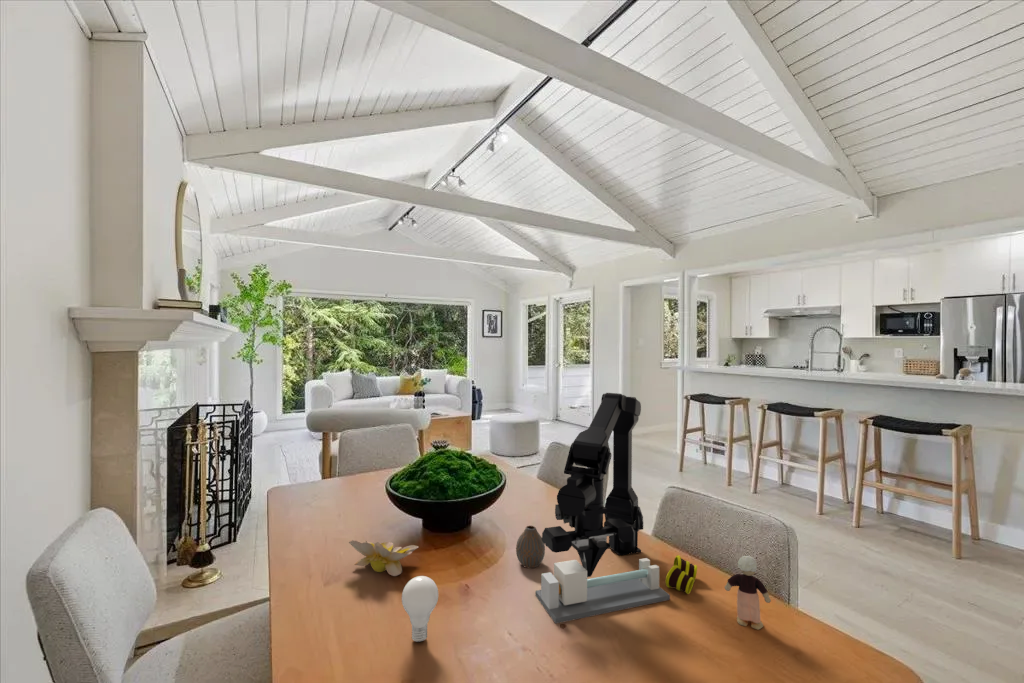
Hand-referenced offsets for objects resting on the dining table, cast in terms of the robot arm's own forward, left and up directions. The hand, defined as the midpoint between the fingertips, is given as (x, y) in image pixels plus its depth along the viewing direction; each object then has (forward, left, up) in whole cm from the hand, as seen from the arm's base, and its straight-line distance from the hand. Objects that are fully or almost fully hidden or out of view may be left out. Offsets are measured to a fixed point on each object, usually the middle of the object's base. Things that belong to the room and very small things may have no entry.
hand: (588, 575), depth 93 cm
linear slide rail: (-4, 0, -5) cm, 6 cm away
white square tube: (+4, 0, -4) cm, 5 cm away
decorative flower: (+38, -26, -5) cm, 47 cm away
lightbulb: (+34, +2, -5) cm, 35 cm away
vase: (+5, -18, -5) cm, 20 cm away
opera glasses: (-23, 0, -6) cm, 24 cm away
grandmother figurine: (-26, +16, -5) cm, 31 cm away
